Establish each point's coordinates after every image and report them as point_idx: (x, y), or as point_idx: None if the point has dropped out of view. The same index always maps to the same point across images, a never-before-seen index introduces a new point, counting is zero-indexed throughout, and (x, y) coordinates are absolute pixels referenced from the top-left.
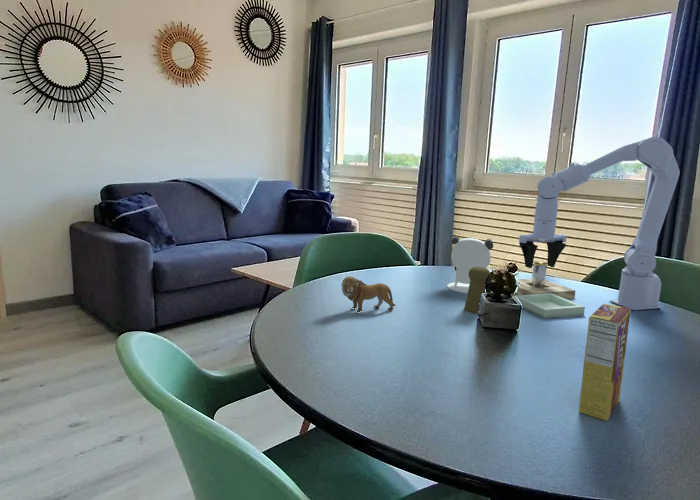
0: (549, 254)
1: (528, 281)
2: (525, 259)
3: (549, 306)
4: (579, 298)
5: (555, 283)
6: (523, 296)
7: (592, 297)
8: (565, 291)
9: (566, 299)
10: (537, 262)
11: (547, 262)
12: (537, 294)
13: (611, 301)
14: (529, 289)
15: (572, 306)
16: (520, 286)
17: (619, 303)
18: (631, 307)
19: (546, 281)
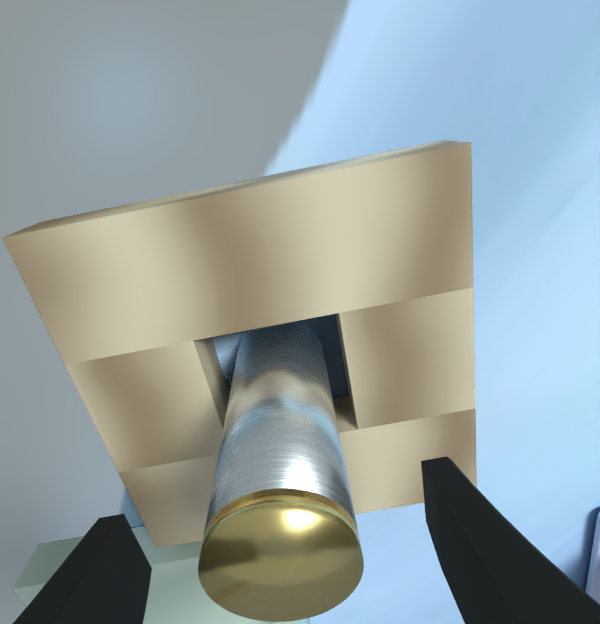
0: (502, 617)
1: (254, 279)
2: (42, 614)
3: (201, 605)
4: (483, 457)
5: (467, 335)
6: None
7: (582, 438)
8: (396, 504)
9: (295, 622)
10: (235, 578)
11: (435, 486)
12: (170, 566)
13: (598, 523)
14: (161, 485)
15: None
16: (118, 423)
17: (598, 557)
18: (595, 598)
19: (431, 275)
